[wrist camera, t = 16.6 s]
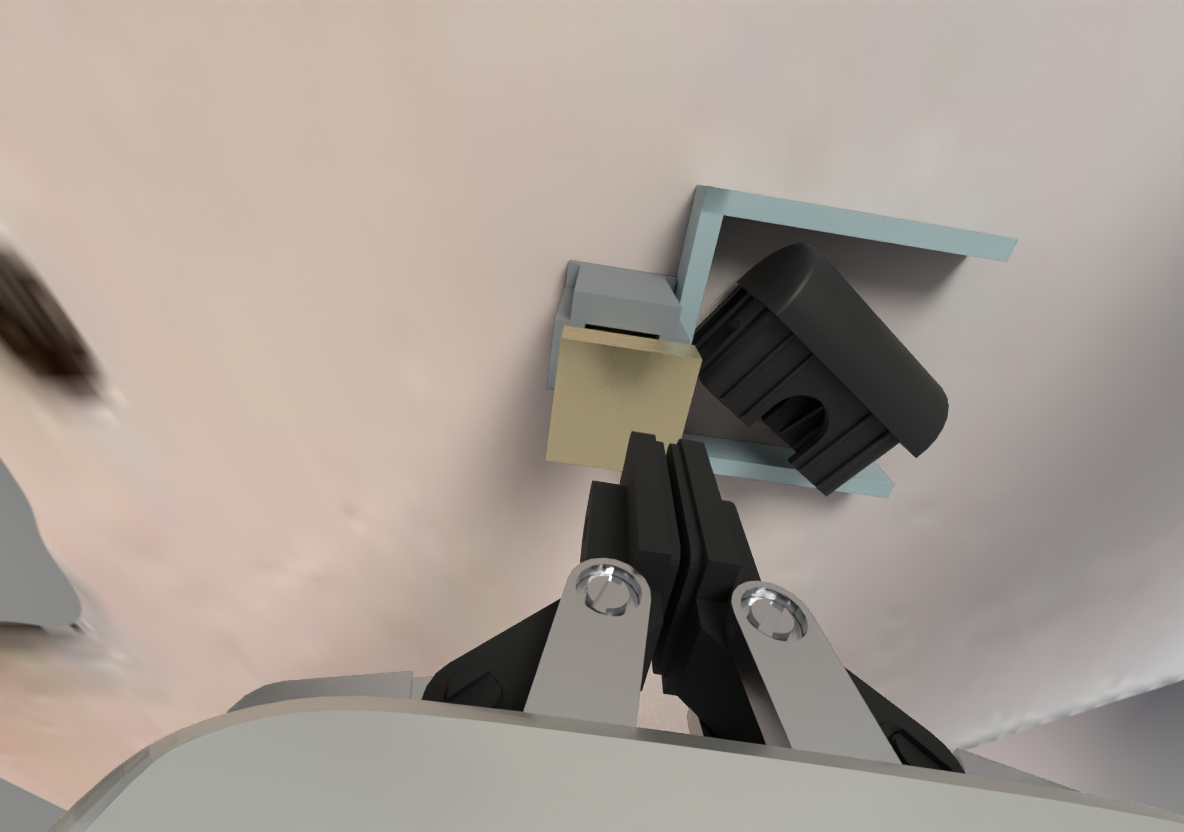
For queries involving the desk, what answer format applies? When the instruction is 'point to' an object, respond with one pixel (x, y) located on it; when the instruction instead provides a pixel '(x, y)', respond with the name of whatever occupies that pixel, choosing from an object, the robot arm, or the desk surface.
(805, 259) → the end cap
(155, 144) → the desk surface
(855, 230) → the u-shaped bracket with socket
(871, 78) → the desk surface
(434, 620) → the desk surface
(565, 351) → the pin
